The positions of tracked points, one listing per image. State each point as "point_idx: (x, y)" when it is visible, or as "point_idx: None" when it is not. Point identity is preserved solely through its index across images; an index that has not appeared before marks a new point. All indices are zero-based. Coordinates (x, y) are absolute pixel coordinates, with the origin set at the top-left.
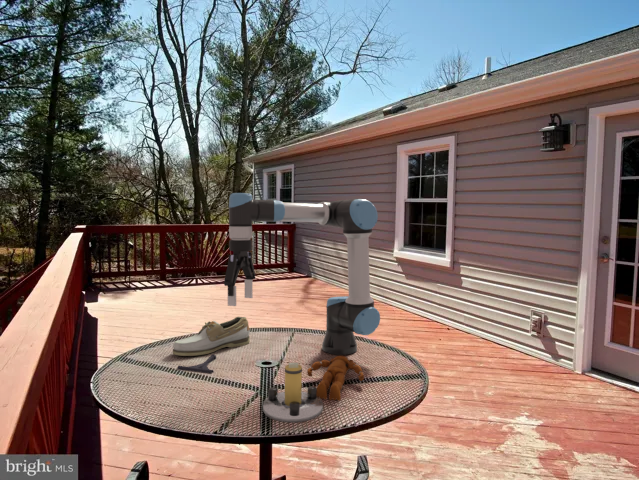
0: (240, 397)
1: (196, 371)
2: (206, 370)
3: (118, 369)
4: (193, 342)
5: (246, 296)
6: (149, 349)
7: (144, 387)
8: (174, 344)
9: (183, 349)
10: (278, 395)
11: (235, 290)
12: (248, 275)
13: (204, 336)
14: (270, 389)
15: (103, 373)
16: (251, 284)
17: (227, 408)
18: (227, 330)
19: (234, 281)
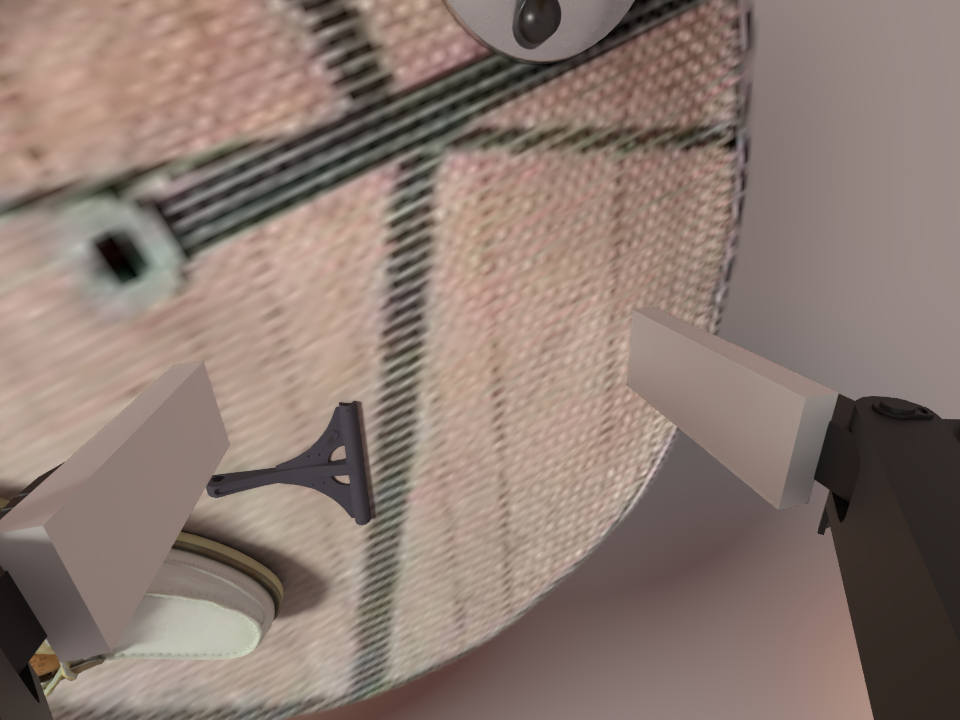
0: (508, 188)
1: (362, 454)
2: (354, 425)
3: (441, 634)
4: (215, 601)
5: (218, 432)
6: (254, 698)
7: (526, 496)
8: (261, 640)
9: (263, 594)
10: (493, 15)
11: (775, 365)
12: (19, 682)
13: (143, 607)
14: (545, 27)
15: (478, 638)
16: (108, 465)
17: (594, 189)
18: None
19: (937, 438)
